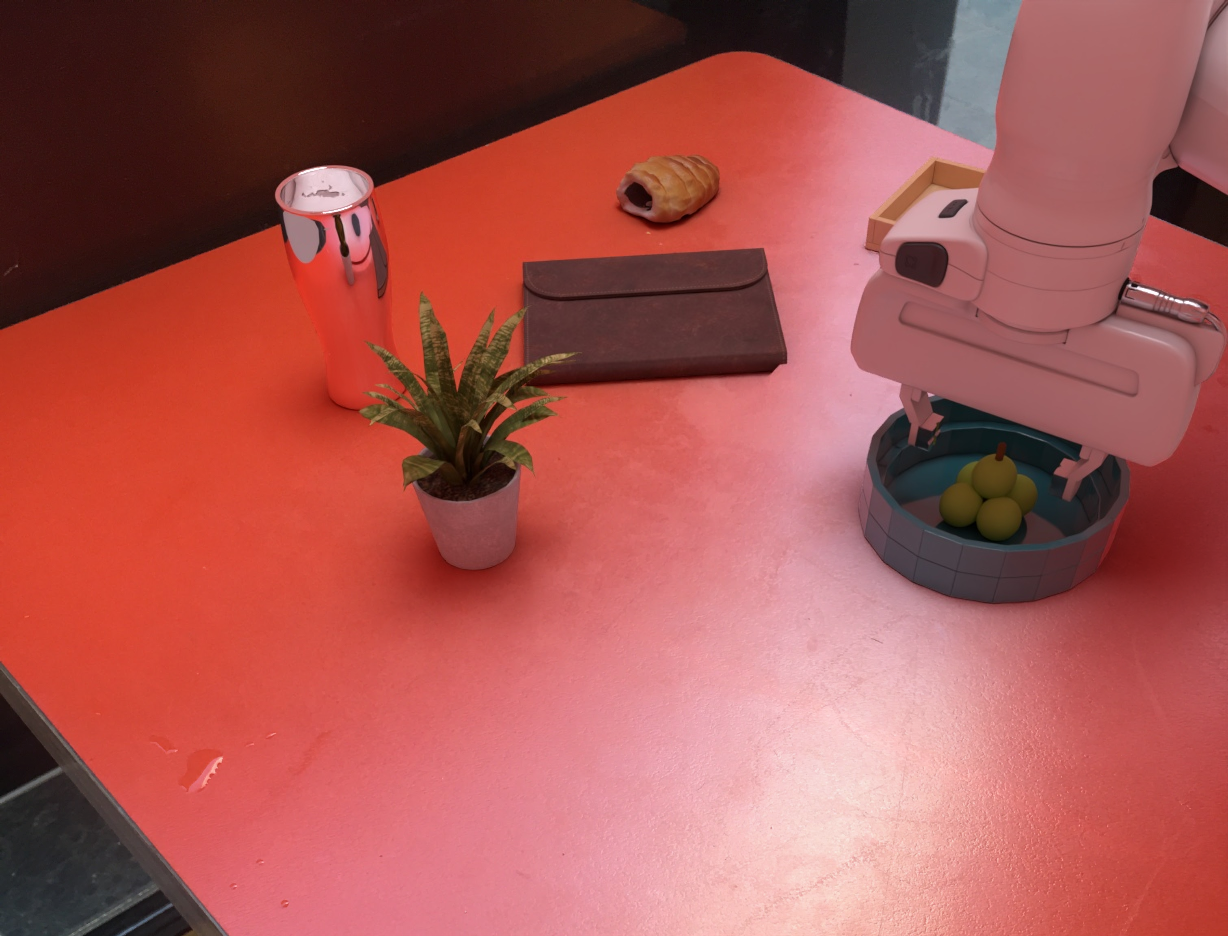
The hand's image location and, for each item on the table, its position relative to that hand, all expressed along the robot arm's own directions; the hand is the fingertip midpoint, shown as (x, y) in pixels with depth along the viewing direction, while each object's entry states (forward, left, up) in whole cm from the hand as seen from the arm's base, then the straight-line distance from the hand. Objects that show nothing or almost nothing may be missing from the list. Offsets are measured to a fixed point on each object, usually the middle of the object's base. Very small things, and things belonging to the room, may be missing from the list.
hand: (991, 467), depth 78 cm
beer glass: (+46, +9, -5) cm, 47 cm away
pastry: (+41, -26, -5) cm, 49 cm away
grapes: (0, 0, -4) cm, 4 cm away
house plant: (+27, +20, -5) cm, 34 cm away
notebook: (+32, -9, -5) cm, 33 cm away
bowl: (0, 0, -5) cm, 5 cm away
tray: (+15, -34, -5) cm, 38 cm away
